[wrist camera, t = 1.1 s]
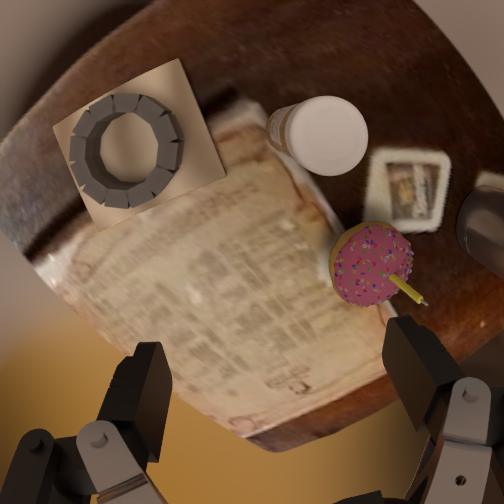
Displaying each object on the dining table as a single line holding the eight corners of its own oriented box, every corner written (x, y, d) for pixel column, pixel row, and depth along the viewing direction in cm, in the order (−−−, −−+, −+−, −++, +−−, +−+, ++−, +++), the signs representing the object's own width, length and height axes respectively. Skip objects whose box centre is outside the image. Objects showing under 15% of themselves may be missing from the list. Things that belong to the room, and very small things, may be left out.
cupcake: (395, 210, 32) (460, 254, 21) (385, 280, 35) (434, 342, 24) (320, 209, 32) (364, 259, 21) (315, 285, 35) (347, 356, 24)
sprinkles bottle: (289, 162, 30) (330, 194, 17) (254, 129, 28) (271, 135, 16) (323, 129, 28) (385, 139, 16) (288, 95, 27) (331, 78, 15)
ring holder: (180, 60, 25) (171, 49, 21) (226, 174, 30) (225, 183, 25) (58, 126, 26) (33, 129, 22) (103, 228, 31) (85, 244, 27)
